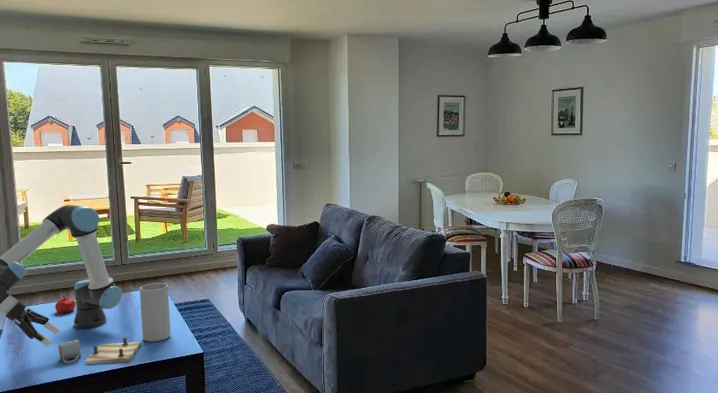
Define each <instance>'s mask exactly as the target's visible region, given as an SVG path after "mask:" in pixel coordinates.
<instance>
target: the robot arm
mask: <svg viewBox="0 0 718 393" xmlns="http://www.w3.org/2000/svg"><path fill="white" fill-rule="evenodd" d="M99 223H100V216H99V214H98V212H97V211H96V210H95V209H94V208H92V207H91V206H90V207H89V206H87V205H73V204H67V205H63V206H61V207H59V208H57V209H55V210H53V211H52V212H51V213H49V214H48V215H47V216H46V217H45V218H43V219H42V223H40V224H39V225H38V226H37V227H35V228H34V229H33V230H32V231H30V232H29V233H27V235H26V236H24V237H23V238H22V239H20V240H19V241H18V242H17V243H15V244H14V245H12V247H10V249H8V250H7V251H6V252H5V253H3V254H2V255H0V314H2V315H4V316H5V317H6V318H7V319H8V320H9V321H14V320H15V319H16V320H15V321H14V324H15V325H16V326H18V328H20V330H21V331H22V332H23V333H24V334H25V335H26V337H27V338H28V339H30V340H33V339H35V340H37V341H38V342H40V343H41V344H42V345H44V346H46V347H49V345H50V344H51V343H53V341H52V340H51V339H50V338H49V337H47V336H45V335H44V334H43V333H41V332H40V331H39V332H38V331H37V329H36V328H35V326H34V324H32V323H35V324H38V325H40V326H41V325H42V326H43V328H45V329H46V330H48V331H49V332H51V333H52V334H54V335H55V336H57V335H58V333H59V332H60V331H61V328H58V327H57V326H56V325H54V324H53V323H51V322H50V321H49V320H50V318H49V317H47V316H45V315H42V314H40V313H38V312H35V311H33V310H32V309H30V308H27V306H26V305H25V304H23V303H22V302H20V301H18V299H17V298H15V297H14V296H12V295H11V294H9V293H8V292H9V291H10V290H11V289H12V288H13V287H14V286H15V285H17V283H18V282H19V281H21V280H22V279H23V277H24V276H25V275H26V274H27V269H26V268H25V267H24V265H22V264H21V263H22V262H23V261H24V260H25V259H27V258H28V257H29V256H30V255H31V254H33V253H34V252H35V251H37V249H39V248H40V247H41V246H42V245H43V244H45V243H46V242H47V241H49V240H50V239H51V238H53V236H54V235H59V234H61V233H62V232H63V231H65V230H69V232H70V235H71V237H72V238H73V239H76V242H77V245H78V248H79V251H80V254H81V258H82V260H83V264H84V267H85V270H86V274H87V277H88V278H87V279H83V280H79V281H77V282H76V283H75V284H74V296H75V297H74V299H75V302H76V305H75V308H76V309H75V310H76V312H75V316H74V320H73V326H74V328H77V329H91V328H95V327H99V326H101V325H103V324H105V323H106V322H107V315H106V314H105V312H104V310H111V309H114V308H116V307H117V306H118V305H119V303H120V301H121V299H122V295H123V294H122V293H123V292H122V290H121V288H120V287H119V286H116V284H115V282H114V281H115V280H114V279H113V277H111V276H110V275H109V273H108V271H107V267H106V264H105V260H104V258H103V254H102V250H101V248H100V244H99V241H98V238H97V232H98V230H99V229H98V226H99ZM26 308H27V309H26ZM25 309H26V310H25Z"/></svg>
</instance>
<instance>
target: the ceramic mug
mask: <svg viewBox="0 0 718 393" xmlns="http://www.w3.org/2000/svg"><path fill="white" fill-rule="evenodd" d="M58 354H59V360H60V361H63V362H64V363H65V364H69V365H70V364H75V363H76V362H77V361H78V359H79V358H81V357H82V356H81V355H82V353H81V348H80V341H79V339H74V340H70V341H67V342H62V343H60V344H59V345H58Z"/></svg>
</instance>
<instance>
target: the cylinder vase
mask: <svg viewBox="0 0 718 393" xmlns="http://www.w3.org/2000/svg"><path fill="white" fill-rule="evenodd" d="M169 297H170V296H169V284H167V283H164V282H163V283H162V282H157V283H156V282H155V283H148V284H145V285H141V286H140V287H139V299H140V313H141V329H142V330H141V332H142V339H143V341H145V342H152V343H153V342H154V343H155V342H161V341H165V340H166V339H168V338H170V336H171V321H170V317H171V316H170V302H169V300H170V299H169Z"/></svg>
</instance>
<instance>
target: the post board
mask: <svg viewBox="0 0 718 393" xmlns="http://www.w3.org/2000/svg"><path fill="white" fill-rule="evenodd" d="M122 341H123V342H119V343H118V342H117V343H101V344H99V346H93V352H92V353H91V354H90V355H89V356H88V357H87V359H86V360H85V365H92V364H94V365H95V364H110V363H111V364H112V363H125V362H131V360H132V358H133V357H134V355H135V354H136V353H137V351H138V350H139V349H140V348H141V346H142V342H141V341H134V342H133V341H132V342H127V337H123V338H122Z"/></svg>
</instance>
